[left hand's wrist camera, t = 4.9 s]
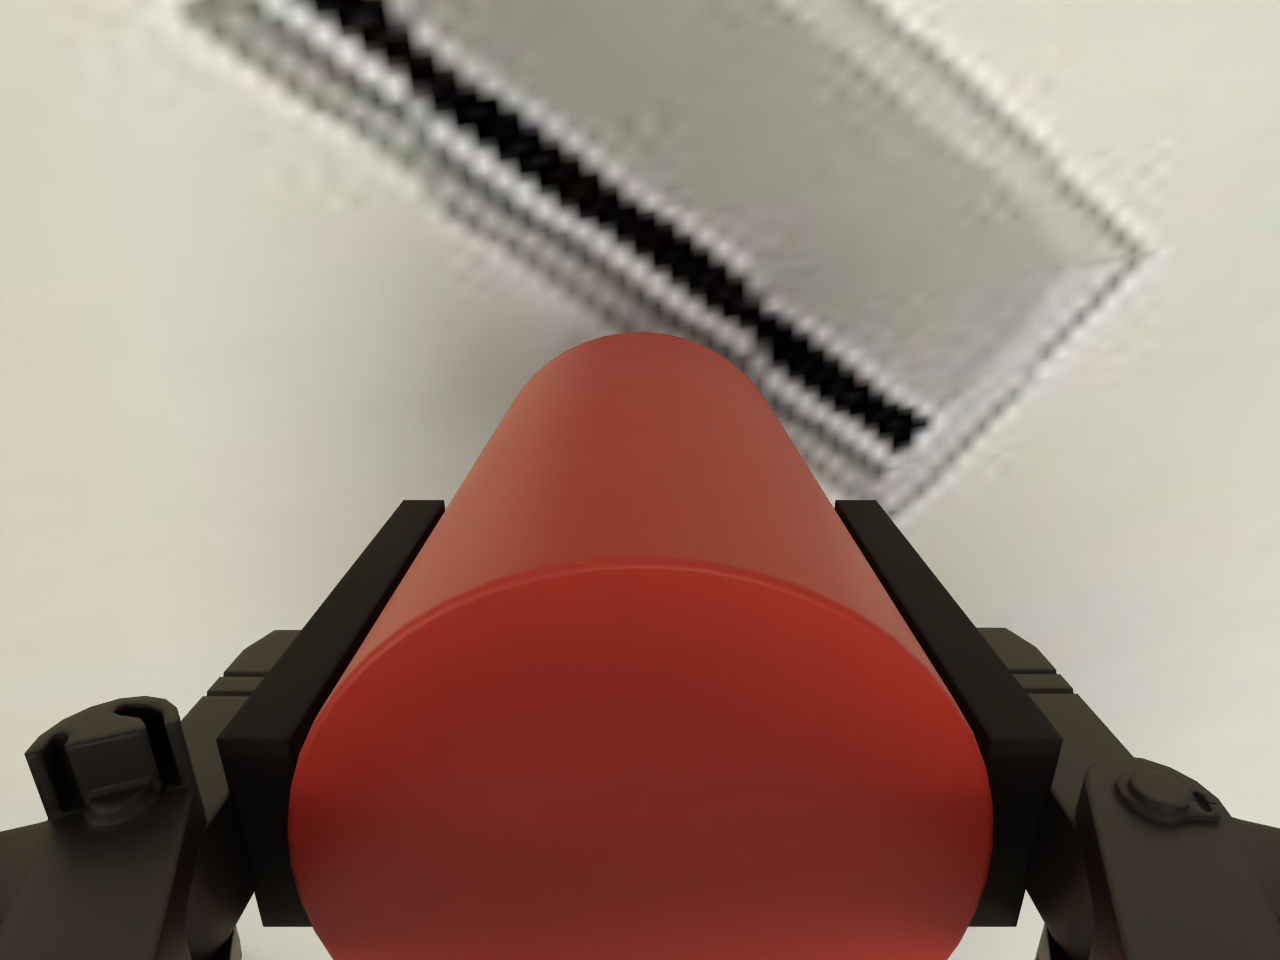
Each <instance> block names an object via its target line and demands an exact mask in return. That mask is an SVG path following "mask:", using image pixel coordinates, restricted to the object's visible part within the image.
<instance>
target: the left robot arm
mask: <svg viewBox="0 0 1280 960" xmlns="http://www.w3.org/2000/svg"><path fill="white" fill-rule="evenodd" d="M835 511H836V513H837V514H838V516H839V517H840V519H841V521H842V522H843V524H844V525H845V527H846V528H847V530H848V532H849V533H850V535H851V536H852V538H853V540H854V541H855V543H856V544H857V546H858V548H859V549H860V551H861V552H862V554H863V555H864V557H865V559H866V560H867V562H868V563H869V565H870V567H871V568H872V570H873V571H874V573H875V575H876V576H877V578H878V579H879V581H880V583H881V584H882V586H883V587H884V589H885V590H886V592H887V594H888V595H889V597H890V598H891V600H892V602H893V603H894V605H895V606H896V608H897V610H898V611H899V613H900V614H901V616H902V617H903V619H904V621H905V622H906V624H907V625H908V627H909V629H910V630H911V632H912V633H913V635H914V637H915V638H916V640H917V641H918V643H919V644H920V646H921V648H922V649H923V651H924V652H925V654H926V656H927V657H928V659H929V660H930V662H931V664H932V665H933V667H934V668H935V670H936V671H937V673H938V675H939V676H940V678H941V679H942V681H943V683H944V684H945V686H946V687H947V689H948V691H949V692H950V694H951V695H952V697H953V699H954V700H955V702H956V704H957V705H958V707H959V709H960V711H961V712H962V714H963V716H964V718H965V719H966V721H967V723H968V724H969V726H970V728H971V730H972V731H973V734H974V736H975V739H976V742H977V744H978V747H979V750H980V753H981V755H982V758H983V761H984V763H985V766H986V770H987V775H988V781H989V786H990V792H991V797H992V803H993V848H992V854H991V860H990V865H989V871H988V877H987V881H986V884H985V887H984V890H983V893H982V895H981V898H980V901H979V904H978V907H977V910H976V913H975V914H974V916H973V918H972V920H971V922H970V924H969V926H968V927H1016V925H1017V921H1018V917H1019V913H1020V910H1021V906H1022V902H1023V898H1024V894H1025V890H1027V892H1028V894H1029V895H1030V897H1031V899H1032V901H1033V903H1034V904H1035V906H1036V908H1037V910H1038V912H1039V913H1040V915H1041V917H1042V919H1043V920H1044V922H1045V924H1044V928H1043V931H1042V935H1041V939H1040V942H1039V946H1038V950H1037V953H1036V957H1035V960H1280V828H1275V827H1271V826H1266V825H1262V824H1257V823H1253V822H1248V821H1244V820H1240V819H1236V818H1233V817H1231V816H1230V814H1229V813H1228V811H1227V810H1226V809H1225V807H1224V806H1223V805H1222V803H1221V802H1220V800H1219V799H1218V798H1217V797H1215V796H1214V795H1213V794H1212V793H1210V792H1209V791H1208V790H1207V789H1205V788H1204V787H1203V786H1202V785H1200V784H1199V783H1198V782H1197V781H1195V780H1193V779H1191V778H1189V777H1187V776H1185V775H1184V774H1182V773H1180V772H1178V771H1176V770H1174V769H1172V768H1170V767H1168V766H1164V765H1161V764H1158V763H1155V762H1152V761H1149V760H1146V759H1143V758H1135V757H1133V756H1132V755H1131V754H1130V753H1129V752H1128V750H1127V749H1126V748H1125V747H1124V746H1123V745H1122V744H1121V743H1120V741H1119V740H1118V739H1117V738H1116V737H1115V736H1114V735H1113V733H1112V732H1111V731H1110V730H1109V729H1108V728H1107V727H1106V726H1105V724H1104V723H1103V722H1102V721H1101V720H1100V719H1099V718H1098V717H1097V715H1096V714H1095V713H1094V712H1093V711H1092V710H1091V709H1090V708H1089V706H1088V705H1087V704H1086V703H1085V702H1084V701H1083V700H1082V698H1081V697H1080V696H1079V695H1078V694H1074V693H1073V688H1072V687H1071V686H1070V685H1069V684H1068V683H1067V682H1066V680H1065V679H1064V678H1063V677H1062V676H1061V675H1060V674H1056V669H1055V668H1054V667H1053V666H1052V665H1051V663H1050V662H1049V661H1048V660H1047V659H1046V658H1045V657H1044V656H1043V654H1042V653H1041V652H1040V651H1039V650H1038V649H1037V648H1036V647H1035V646H1033V645H1032V644H1030V643H1029V642H1027V641H1025V640H1024V639H1022V638H1021V637H1019V636H1017V635H1016V634H1014V633H1013V632H1011V631H1009V630H1008V629H1006V628H976V627H975V626H974V625H973V623H972V622H971V621H970V619H969V618H968V617H967V616H966V614H965V613H964V612H963V611H962V609H961V608H960V607H959V605H958V604H957V603H956V602H955V600H954V599H953V598H952V597H951V595H950V594H949V593H948V591H947V590H946V589H945V588H944V586H943V585H942V584H941V583H940V581H939V580H938V579H937V577H936V576H935V575H934V574H933V572H932V571H931V570H930V569H929V567H928V566H927V565H926V563H925V562H924V561H923V560H922V558H921V557H920V556H919V555H918V553H917V552H916V551H915V549H914V548H913V547H912V546H911V544H910V543H909V542H908V541H907V539H906V538H905V537H904V535H903V534H902V533H901V532H900V530H899V529H898V528H897V527H896V525H895V524H894V523H893V521H892V520H891V519H890V518H889V516H888V515H887V514H886V513H885V511H884V510H883V509H882V507H881V506H880V505H879V504H878V502H877V501H876V500H835ZM444 512H445V505H444V500H403V502H402V503H401V504H400V506H399V507H398V508H397V509H396V511H395V512H394V513H393V514H392V516H391V517H390V518H389V520H388V521H387V522H386V523H385V525H384V526H383V527H382V528H381V530H380V531H379V532H378V534H377V535H376V536H375V537H374V539H373V540H372V541H371V542H370V544H369V545H368V546H367V548H366V549H365V550H364V551H363V553H362V554H361V555H360V556H359V558H358V559H357V560H356V562H355V563H354V564H353V565H352V567H351V568H350V569H349V570H348V572H347V573H346V574H345V576H344V577H343V578H342V579H341V581H340V582H339V583H338V584H337V586H336V587H335V588H334V590H333V591H332V592H331V593H330V595H329V596H328V597H327V598H326V600H325V601H324V602H323V604H322V605H321V606H320V607H319V609H318V610H317V611H316V612H315V614H314V615H313V616H312V618H311V619H310V620H309V621H308V623H307V624H306V625H305V626H304V628H303V629H302V630H274V631H273V632H271V633H270V634H268V635H266V636H265V637H263V638H262V639H260V640H258V641H257V642H255V643H254V644H252V645H251V646H249V647H247V648H246V649H244V650H243V651H242V652H241V654H240V655H239V656H238V657H237V658H236V659H235V660H234V662H233V663H232V664H231V665H230V666H229V667H228V668H227V669H226V671H225V672H224V676H223V677H219V679H218V680H217V681H216V682H215V683H214V684H213V685H212V687H211V688H210V689H209V690H208V691H207V696H203V697H202V698H201V699H200V700H199V701H198V702H197V704H196V705H195V706H194V707H193V708H192V709H191V710H190V712H189V713H188V714H187V715H186V716H185V717H184V718H183V719H182V721H180V717H179V713H178V710H177V707H175V706H174V705H173V704H171V703H170V702H169V701H167V700H166V699H161V698H155V697H149V696H141V697H131V698H121V699H117V700H113V701H110V702H106V703H103V704H99V705H96V706H92V707H90V708H87V709H85V710H83V711H81V712H79V713H77V714H74V715H72V716H70V717H68V718H66V719H64V720H62V721H61V722H59V723H58V724H56V725H55V726H53V727H52V728H50V729H49V730H48V731H46V732H45V733H43V734H42V735H40V736H39V737H38V738H37V740H36V741H35V742H34V743H33V744H32V745H31V747H30V748H29V749H28V750H27V751H26V752H25V757H26V760H27V762H28V765H29V768H30V770H31V773H32V776H33V778H34V781H35V784H36V787H37V789H38V792H39V795H40V797H41V800H42V803H43V806H44V808H45V811H46V814H47V816H48V820H47V821H45V822H41V823H37V824H33V825H28V826H24V827H20V828H15V829H11V830H6V831H2V832H0V960H241V958H242V953H241V946H240V939H239V935H238V931H237V928H236V924H237V922H238V920H239V918H240V916H241V915H242V913H243V911H244V909H245V907H246V906H247V904H248V902H249V900H250V898H251V897H252V895H253V893H254V892H255V896H256V900H257V904H258V908H259V912H260V916H261V920H262V924H263V927H313V926H312V924H311V922H310V920H309V918H308V915H307V913H306V911H305V909H304V907H303V905H302V902H301V900H300V897H299V893H298V890H297V886H296V883H295V879H294V875H293V872H292V868H291V862H290V852H289V842H288V832H287V827H288V812H289V799H290V788H291V784H292V781H293V777H294V773H295V769H296V765H297V761H298V757H299V753H300V751H301V749H302V747H303V744H304V742H305V740H306V738H307V736H308V733H309V731H310V729H311V727H312V725H313V722H314V720H315V718H316V716H317V715H318V713H319V712H320V710H321V708H322V707H323V705H324V704H325V702H326V700H327V699H328V697H329V696H330V694H331V692H332V691H333V689H334V688H335V686H336V684H337V683H338V681H339V680H340V678H341V676H342V675H343V673H344V672H345V670H346V669H347V667H348V665H349V664H350V662H351V661H352V659H353V657H354V656H355V654H356V653H357V651H358V649H359V648H360V646H361V645H362V643H363V641H364V640H365V638H366V637H367V635H368V633H369V632H370V630H371V629H372V627H373V625H374V624H375V622H376V621H377V619H378V617H379V616H380V614H381V613H382V611H383V609H384V608H385V606H386V605H387V603H388V602H389V600H390V598H391V597H392V595H393V594H394V592H395V590H396V589H397V587H398V586H399V584H400V582H401V581H402V579H403V578H404V576H405V574H406V573H407V571H408V570H409V568H410V566H411V565H412V563H413V562H414V560H415V558H416V557H417V555H418V554H419V552H420V550H421V549H422V547H423V546H424V544H425V542H426V541H427V539H428V538H429V536H430V535H431V533H432V531H433V530H434V528H435V527H436V525H437V523H438V522H439V520H440V519H441V517H442V515H443V514H444Z"/></svg>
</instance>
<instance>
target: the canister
mask: <svg viewBox="0 0 1280 960" xmlns="http://www.w3.org/2000/svg"><path fill="white" fill-rule="evenodd" d="M287 832H288V842H289V852H290V862H291V868H292V872H293V875H294V879H295V883H296V886H297V890H298V893H299V897H300V900H301V902H302V905H303V907H304V909H305V911H306V913H307V915H308V918H309V920H310V922H311V924H312V926H313V929H314V931H315V932H316V934H317V935H318V937H319V939H320V940H321V942H322V943H323V945H324V946H325V948H326V949H327V951H328V952H329V954H330V955H331V957H332V958H333V960H947V959H948V958H949V956H950V955H951V954H952V952H953V951H954V950H955V948H956V947H957V945H958V944H959V943H960V941H961V939H962V937H963V935H964V933H965V931H966V929H967V928H968V926H969V924H970V922H971V920H972V918H973V916H974V914H975V913H976V910H977V907H978V904H979V901H980V898H981V895H982V893H983V890H984V887H985V884H986V881H987V877H988V871H989V865H990V860H991V854H992V848H993V803H992V797H991V792H990V786H989V781H988V775H987V770H986V766H985V763H984V761H983V758H982V755H981V753H980V750H979V747H978V744H977V742H976V739H975V736H974V734H973V731H972V730H971V728H970V726H969V724H968V723H967V721H966V719H965V718H964V716H963V714H962V712H961V711H960V709H959V707H958V705H957V704H956V702H955V700H954V699H953V697H952V695H951V694H950V692H949V691H948V689H947V687H946V686H945V684H944V683H943V681H942V679H941V678H940V676H939V675H938V673H937V671H936V670H935V668H934V667H933V665H932V664H931V662H930V660H929V659H928V657H927V656H926V654H925V652H924V651H923V649H922V648H921V646H920V644H919V643H918V641H917V640H916V638H915V637H914V635H913V633H912V632H911V630H910V629H909V627H908V625H907V624H906V622H905V621H904V619H903V617H902V616H901V614H900V613H899V611H898V610H897V608H896V606H895V605H894V603H893V602H892V600H891V598H890V597H889V595H888V594H887V592H886V590H885V589H884V587H883V586H882V584H881V583H880V581H879V579H878V578H877V576H876V575H875V573H874V571H873V570H872V568H871V567H870V565H869V563H868V562H867V560H866V559H865V557H864V555H863V554H862V552H861V551H860V549H859V548H858V546H857V544H856V543H855V541H854V540H853V538H852V536H851V535H850V533H849V532H848V530H847V528H846V527H845V525H844V524H843V522H842V521H841V519H840V517H839V516H838V514H837V513H836V511H835V509H834V508H833V506H832V505H831V503H830V501H829V500H828V498H827V497H826V495H825V494H824V492H823V490H822V489H821V487H820V486H819V484H818V482H817V481H816V479H815V478H814V476H813V474H812V473H811V471H810V470H809V468H808V467H807V465H806V463H805V462H804V460H803V459H802V457H801V455H800V454H799V452H798V451H797V449H796V447H795V446H794V444H793V443H792V441H791V440H790V438H789V436H788V435H787V433H786V432H785V430H784V428H783V427H782V425H781V424H780V422H779V420H778V419H777V417H776V416H775V414H774V413H773V411H772V409H771V408H770V406H769V405H768V403H767V401H766V400H765V398H764V397H763V395H762V394H761V392H760V391H759V390H758V389H757V387H756V386H755V385H754V384H753V382H752V381H751V380H750V379H749V378H748V377H747V376H746V375H745V374H744V373H743V372H742V371H741V370H740V369H739V368H738V367H736V366H735V365H734V364H732V363H731V362H730V361H728V360H727V359H725V358H724V357H723V356H721V355H720V354H718V353H716V352H714V351H712V350H710V349H708V348H707V347H705V346H703V345H700V344H697V343H695V342H692V341H689V340H687V339H684V338H679V337H675V336H670V335H666V334H658V333H647V332H639V333H621V334H616V335H610V336H604V337H601V338H598V339H594V340H591V341H588V342H585V343H583V344H581V345H578V346H576V347H574V348H572V349H570V350H568V351H566V352H564V353H563V354H561V355H560V356H558V357H557V358H555V359H553V360H552V361H550V362H549V363H548V364H547V365H546V366H544V367H543V368H542V369H541V370H540V371H539V372H537V373H536V374H535V375H534V376H533V377H532V379H531V380H530V381H529V382H528V383H527V384H526V385H525V386H524V388H523V389H522V390H521V392H520V393H519V395H518V396H517V398H516V399H515V401H514V402H513V404H512V405H511V407H510V408H509V410H508V412H507V413H506V415H505V416H504V418H503V420H502V421H501V423H500V424H499V426H498V428H497V429H496V431H495V432H494V434H493V436H492V437H491V439H490V440H489V442H488V444H487V445H486V447H485V448H484V450H483V452H482V453H481V455H480V456H479V458H478V460H477V461H476V463H475V464H474V466H473V468H472V469H471V471H470V472H469V474H468V475H467V477H466V479H465V480H464V482H463V483H462V485H461V487H460V488H459V490H458V491H457V493H456V495H455V496H454V498H453V499H452V501H451V503H450V504H449V506H448V507H447V509H446V511H445V512H444V514H443V515H442V517H441V519H440V520H439V522H438V523H437V525H436V527H435V528H434V530H433V531H432V533H431V535H430V536H429V538H428V539H427V541H426V542H425V544H424V546H423V547H422V549H421V550H420V552H419V554H418V555H417V557H416V558H415V560H414V562H413V563H412V565H411V566H410V568H409V570H408V571H407V573H406V574H405V576H404V578H403V579H402V581H401V582H400V584H399V586H398V587H397V589H396V590H395V592H394V594H393V595H392V597H391V598H390V600H389V602H388V603H387V605H386V606H385V608H384V609H383V611H382V613H381V614H380V616H379V617H378V619H377V621H376V622H375V624H374V625H373V627H372V629H371V630H370V632H369V633H368V635H367V637H366V638H365V640H364V641H363V643H362V645H361V646H360V648H359V649H358V651H357V653H356V654H355V656H354V657H353V659H352V661H351V662H350V664H349V665H348V667H347V669H346V670H345V672H344V673H343V675H342V676H341V678H340V680H339V681H338V683H337V684H336V686H335V688H334V689H333V691H332V692H331V694H330V696H329V697H328V699H327V700H326V702H325V704H324V705H323V707H322V708H321V710H320V712H319V713H318V715H317V716H316V718H315V720H314V722H313V725H312V727H311V729H310V731H309V733H308V736H307V738H306V740H305V742H304V744H303V747H302V749H301V751H300V753H299V757H298V761H297V765H296V769H295V773H294V777H293V781H292V784H291V788H290V799H289V812H288V827H287Z"/></svg>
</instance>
